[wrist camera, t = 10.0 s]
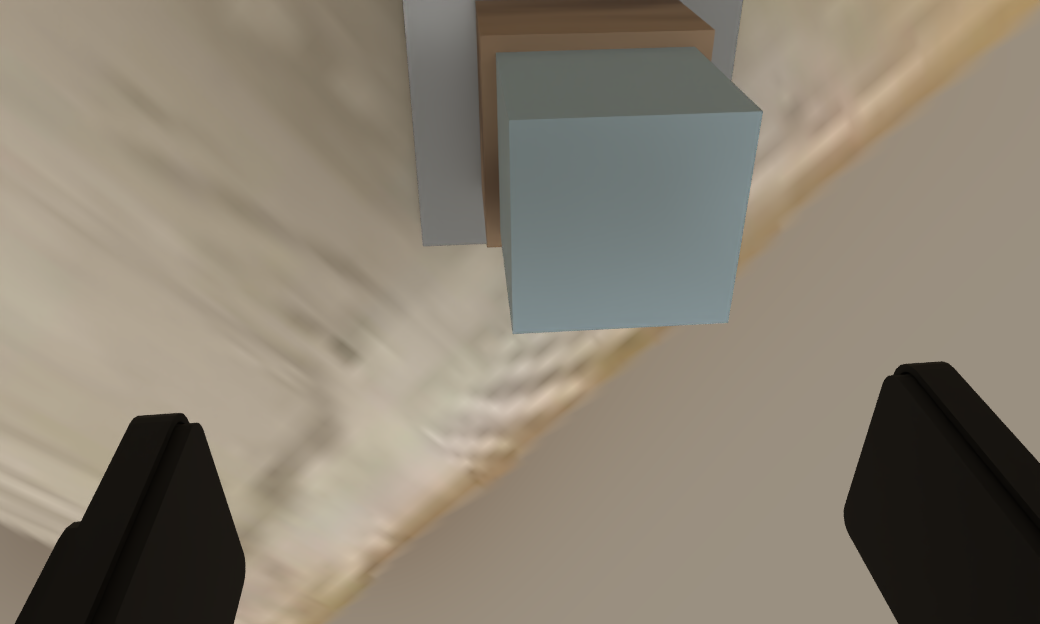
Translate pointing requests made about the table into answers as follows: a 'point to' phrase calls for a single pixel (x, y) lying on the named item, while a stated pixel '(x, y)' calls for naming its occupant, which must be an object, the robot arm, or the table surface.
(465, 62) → the slate base
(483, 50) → the walnut block
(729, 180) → the cube
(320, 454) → the table surface
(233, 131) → the table surface
